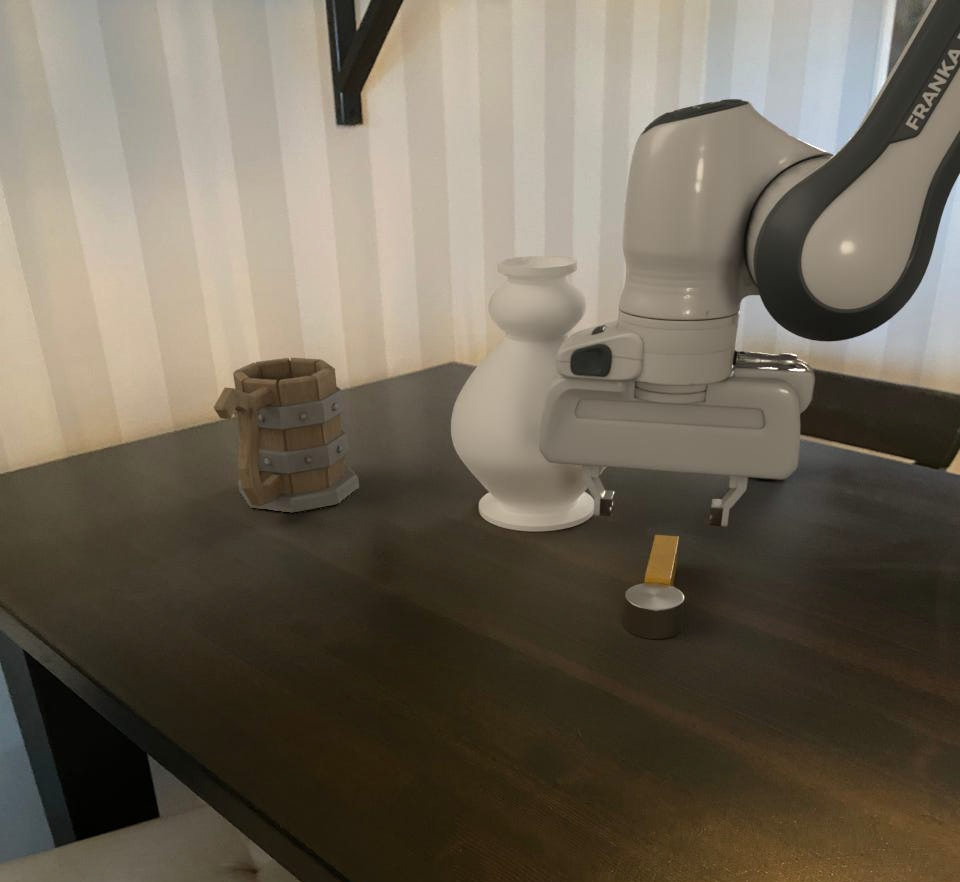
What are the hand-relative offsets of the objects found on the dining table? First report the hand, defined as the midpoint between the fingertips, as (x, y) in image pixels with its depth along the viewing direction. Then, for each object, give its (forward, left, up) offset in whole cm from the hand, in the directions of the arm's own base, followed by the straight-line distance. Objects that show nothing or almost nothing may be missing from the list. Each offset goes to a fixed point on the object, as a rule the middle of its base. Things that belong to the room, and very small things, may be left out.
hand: (660, 518), depth 77 cm
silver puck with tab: (0, 0, -8) cm, 8 cm away
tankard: (+37, -26, -8) cm, 46 cm away
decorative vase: (+9, -22, -8) cm, 25 cm away
